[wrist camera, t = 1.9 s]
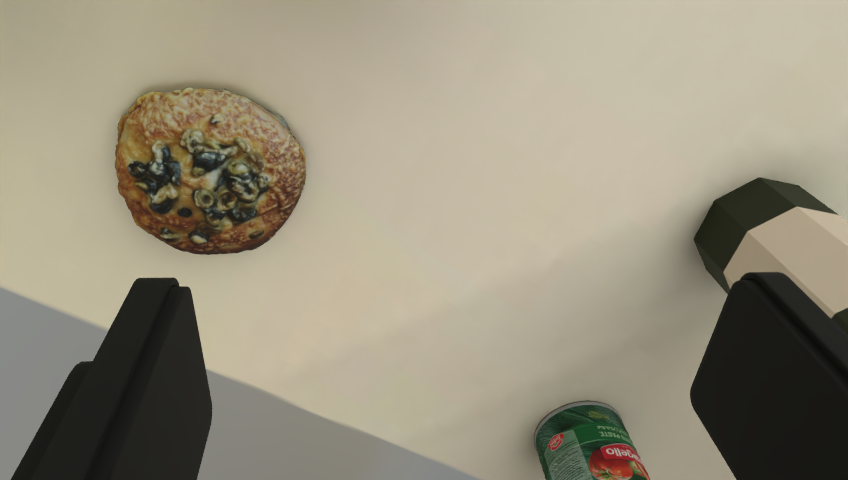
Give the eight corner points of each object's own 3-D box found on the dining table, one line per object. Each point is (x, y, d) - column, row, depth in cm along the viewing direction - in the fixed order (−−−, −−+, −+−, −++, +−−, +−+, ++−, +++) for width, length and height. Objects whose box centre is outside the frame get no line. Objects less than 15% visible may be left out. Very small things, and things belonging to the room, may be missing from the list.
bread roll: (200, 273, 41) (178, 311, 36) (85, 131, 37) (43, 154, 32) (342, 193, 39) (336, 223, 35) (238, 36, 35) (217, 46, 30)
